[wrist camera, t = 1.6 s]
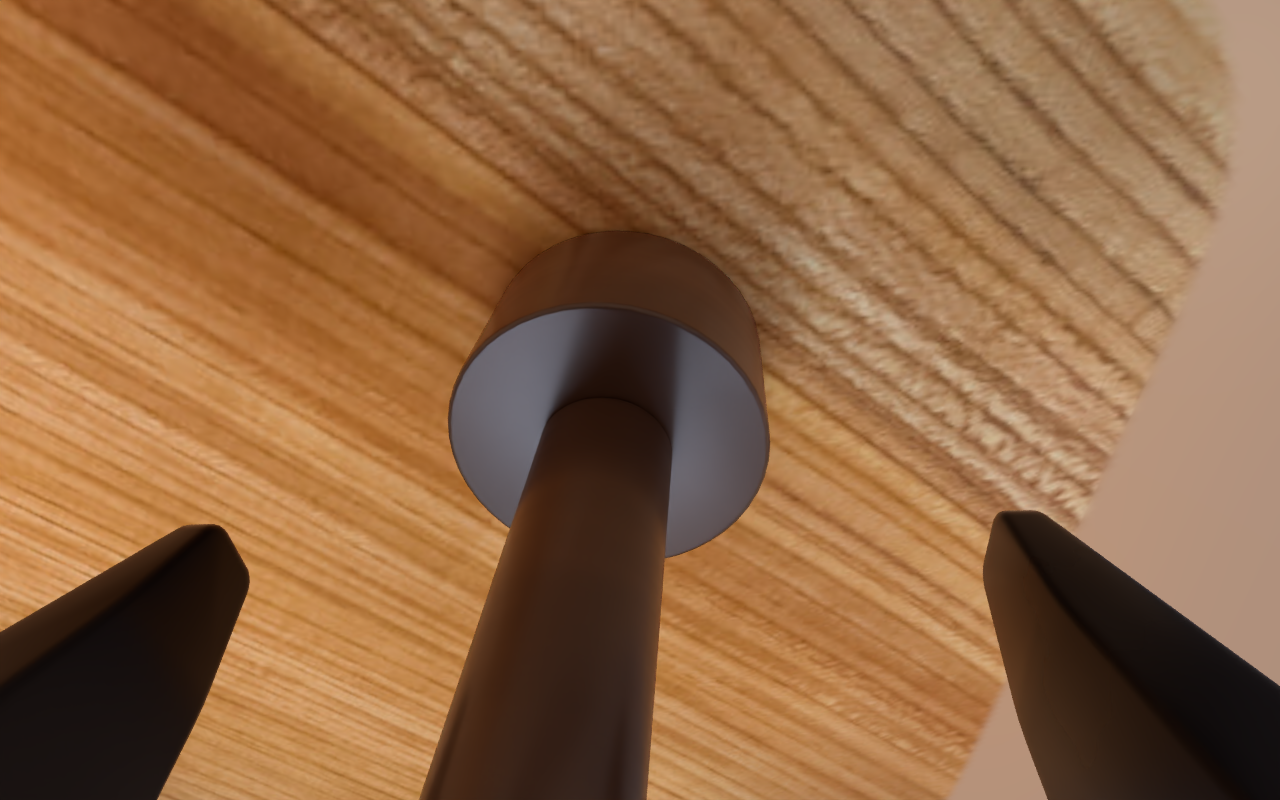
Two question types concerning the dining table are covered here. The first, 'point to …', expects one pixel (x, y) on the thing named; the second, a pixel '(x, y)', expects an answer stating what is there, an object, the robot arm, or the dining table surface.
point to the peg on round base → (593, 504)
